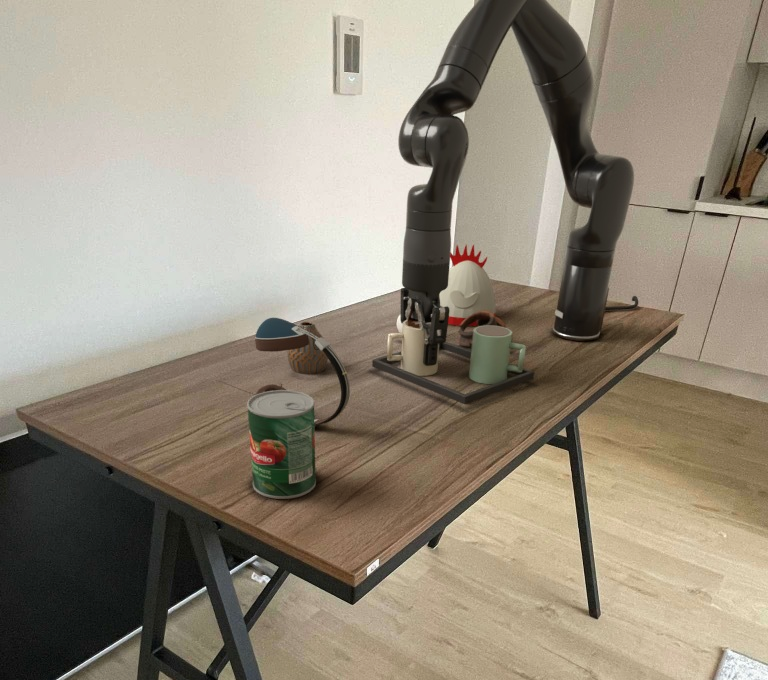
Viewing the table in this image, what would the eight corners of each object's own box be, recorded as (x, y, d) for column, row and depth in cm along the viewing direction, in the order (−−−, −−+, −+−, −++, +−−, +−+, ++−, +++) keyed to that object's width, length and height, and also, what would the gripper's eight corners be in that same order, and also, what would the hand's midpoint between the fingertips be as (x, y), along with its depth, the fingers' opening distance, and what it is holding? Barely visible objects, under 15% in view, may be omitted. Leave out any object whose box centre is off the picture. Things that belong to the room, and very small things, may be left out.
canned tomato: (240, 491, 87) (233, 408, 81) (271, 464, 93) (267, 385, 87) (298, 504, 84) (295, 420, 79) (326, 476, 91) (325, 396, 85)
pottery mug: (515, 361, 132) (500, 325, 127) (468, 377, 135) (452, 344, 130) (512, 326, 140) (498, 291, 135) (468, 343, 144) (452, 310, 139)
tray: (440, 351, 134) (441, 340, 133) (532, 384, 121) (534, 371, 119) (371, 372, 124) (372, 359, 122) (464, 410, 110) (465, 396, 109)
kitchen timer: (434, 306, 161) (439, 236, 153) (495, 310, 160) (502, 240, 152) (429, 323, 149) (434, 249, 142) (494, 328, 148) (503, 253, 140)
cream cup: (430, 362, 126) (433, 317, 121) (442, 374, 120) (446, 328, 116) (381, 365, 123) (382, 319, 119) (392, 378, 118) (393, 331, 114)
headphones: (204, 406, 106) (333, 449, 100) (202, 306, 98) (342, 347, 91) (228, 393, 111) (353, 433, 104) (229, 297, 103) (364, 335, 96)
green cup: (463, 379, 119) (467, 332, 114) (476, 368, 124) (481, 322, 119) (514, 390, 115) (521, 342, 111) (526, 378, 120) (533, 331, 116)
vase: (335, 371, 123) (335, 321, 119) (316, 383, 118) (314, 332, 113) (301, 364, 126) (299, 315, 121) (280, 376, 120) (278, 325, 116)
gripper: (468, 266, 108) (459, 369, 117) (428, 246, 119) (422, 342, 128) (424, 269, 106) (418, 375, 114) (387, 249, 117) (384, 347, 126)
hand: (420, 357), depth 121 cm, fingers closed on cream cup, 6 cm apart
